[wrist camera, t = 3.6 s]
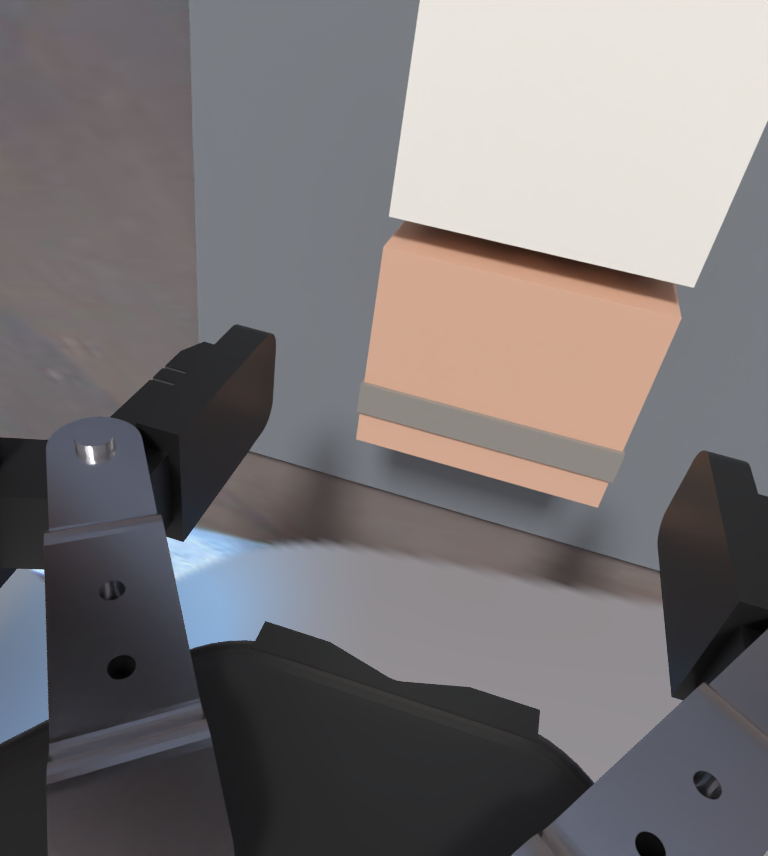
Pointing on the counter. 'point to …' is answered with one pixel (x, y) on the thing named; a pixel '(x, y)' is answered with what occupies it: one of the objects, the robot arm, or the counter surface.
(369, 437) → the stub
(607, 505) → the mat
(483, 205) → the teal-patched white cuboid
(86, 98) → the counter surface
